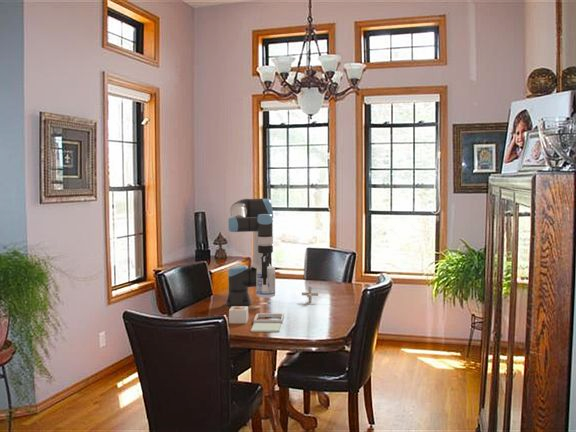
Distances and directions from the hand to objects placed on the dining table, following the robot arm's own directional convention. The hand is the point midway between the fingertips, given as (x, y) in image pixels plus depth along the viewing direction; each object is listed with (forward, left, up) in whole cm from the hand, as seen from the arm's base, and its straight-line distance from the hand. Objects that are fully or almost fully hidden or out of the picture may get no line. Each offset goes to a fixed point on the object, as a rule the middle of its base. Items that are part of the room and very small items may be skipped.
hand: (265, 289), depth 288 cm
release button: (-14, -16, -18) cm, 28 cm away
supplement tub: (0, 0, -4) cm, 4 cm away
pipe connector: (-61, +21, -20) cm, 68 cm away
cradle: (-16, 0, -20) cm, 26 cm away
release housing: (-14, -16, -20) cm, 29 cm away
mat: (0, 0, -20) cm, 20 cm away
